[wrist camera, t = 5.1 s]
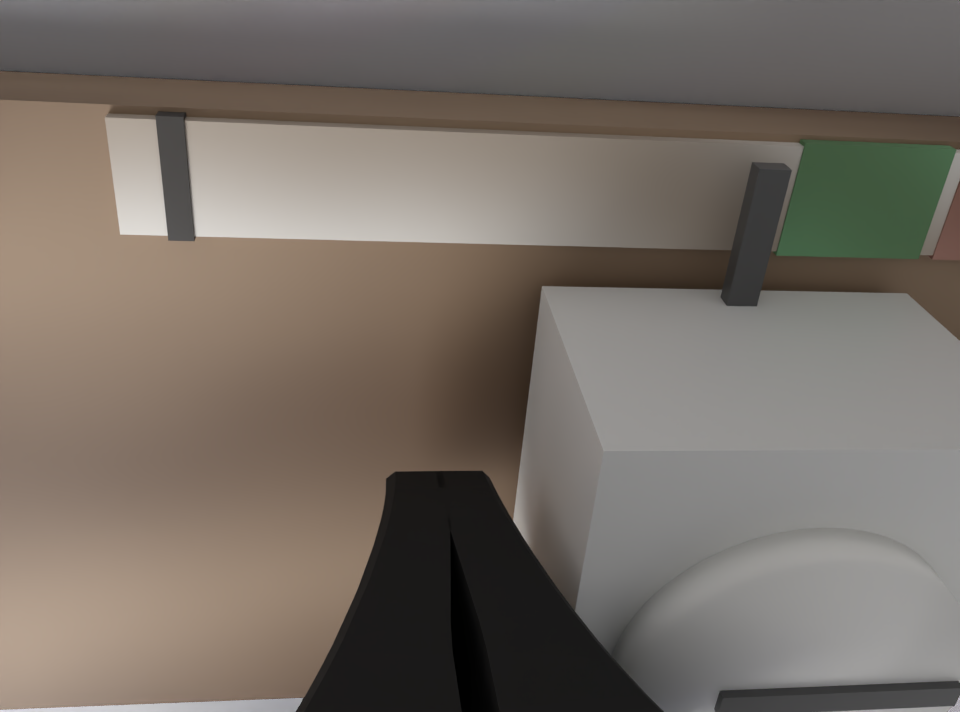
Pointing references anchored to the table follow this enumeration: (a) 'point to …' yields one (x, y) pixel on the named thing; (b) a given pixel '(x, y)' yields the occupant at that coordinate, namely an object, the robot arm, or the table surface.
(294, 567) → the test bench
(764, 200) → the gauge
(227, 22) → the table surface
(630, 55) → the table surface
